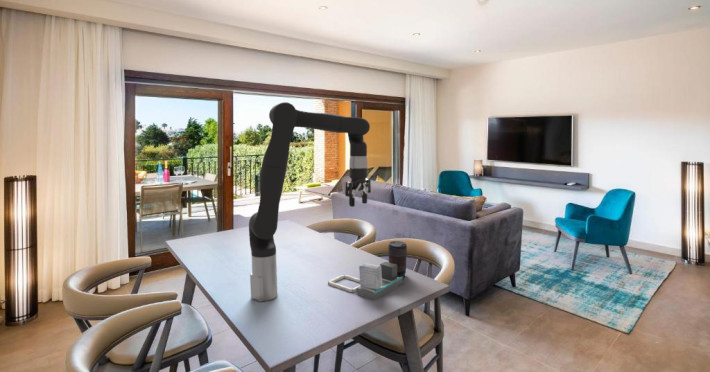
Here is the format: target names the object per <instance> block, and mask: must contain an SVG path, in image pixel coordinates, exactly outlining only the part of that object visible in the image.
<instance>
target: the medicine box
mask: <svg viewBox="0 0 710 372" xmlns="http://www.w3.org/2000/svg"><path fill="white" fill-rule="evenodd" d="M358 267H359V268H358V269H359V279H360V283H359V285H360V286H361V287H365V288H371V289H376V290H378V289H379V288H380V287H382V270H381V265H380V264H374V263H366V262H365V263H362V264H361V265H359V266H358Z"/></svg>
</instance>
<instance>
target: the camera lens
mask: <svg viewBox="0 0 710 372" xmlns="http://www.w3.org/2000/svg"><path fill="white" fill-rule="evenodd" d="M407 248H408V246H407V242H405V241H401V240H393V241H390V242H389V243H388V249H387V251H388V262H389V263H393V264H397V277H401V276H402V277H403V278H404V277H405V275H406V273H407V272H406V271H407V253H408V252H407V250H408V249H407Z"/></svg>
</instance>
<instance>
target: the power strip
mask: <svg viewBox="0 0 710 372" xmlns="http://www.w3.org/2000/svg"><path fill="white" fill-rule="evenodd" d="M379 265H381V270H382V287H380V288H379V289H378V290H376V289H371V288H365V287H361V286H359V285H358V286H359V287H357V286H356V287H357V291H356V294H357V295H359V296H362V297H365V298H368V299H371V300H374V301H376V300H378V299H379V298H381V297H382V296H385V295H386V294H387V293H389V292H391V291H393V290H395V289H396V288H398V287H399V286H401V285H403V283H404V282H403V279H404V277H402V276H401V277H397V264H393V263H389V261H384V262H381V263H380V264H379Z"/></svg>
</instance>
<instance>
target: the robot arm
mask: <svg viewBox="0 0 710 372" xmlns="http://www.w3.org/2000/svg"><path fill="white" fill-rule="evenodd" d="M268 116H269V120H270V122H271V123H272V128H271V129H272V130H271V136H270V139H269V143H268V146H267V148H266V151H265V152H264V155H263V158H262V163H261V166H260V167H261V169H260V172H259V204H258V209H257V212H255V213H253V214H252V215H251V216H250V217H249V222H248V237H249V246H250V250H251V251H250V252H251V253H250V255H251V273H250V274H249V282H250V298H251V299H253V300H255V301H258V302H259V303H262V302H267V301H272V300H274V299H276V298H277V297H278V274H277V273H278V268H277V267H278V265H277V246H276V244H275V239H274V235H275V233H276V232H277V229H278V220H279V212H280V211H279V209H280V203H281V198H282V193H283V189H284V183H285V180H286V179H285V178H286V174H287V167H288V162H289V161H288V160H289V156H290V147H291V140H292V137H293V133H294V130H295V128H307V129H312V130H319V131H323V132H329V133H336V134H337V133H339V134H341V133H342V134H347V138H348V142H349V151H350V152H349V164H348V166H349V178H350V180H351V181H346V182H345V193H344V195H345V197H347V198H348V205H349V207H355V206H356V205H355V203H356V198H355V197H356V194H357V193H358V192H361V194H362V195H361V203H362V204H365V205H366V204H367V203H368V196H369V193H371V192H372V191H371V190H372V189H371V187H372V186H371V184H372V183H371V179H368V156H367V155H368V154H367V153H368V145H367V142H365V141H364V135H366V134H367V133H369V131H370V129H371V126H370V123H369V122H368V120H367V119H365V118H362V117H358V116H357V117H355V116H346V115H340V114H334V113H326V112H313V111H312V112H311V111H303V110H298V109H296V106H294V104H292V103H290V102H286V101H283V102H280V103H277V104H275V105H274V106H272V108H271V109H270V111H269V113H268Z"/></svg>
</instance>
